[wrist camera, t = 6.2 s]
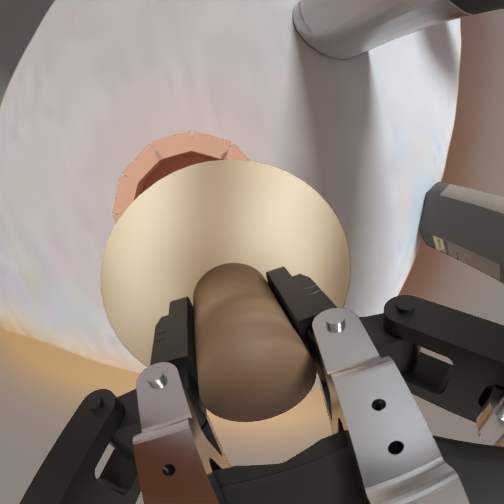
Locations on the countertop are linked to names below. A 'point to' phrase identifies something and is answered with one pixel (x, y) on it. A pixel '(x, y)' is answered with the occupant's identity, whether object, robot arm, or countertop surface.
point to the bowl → (169, 163)
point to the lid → (226, 277)
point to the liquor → (466, 226)
